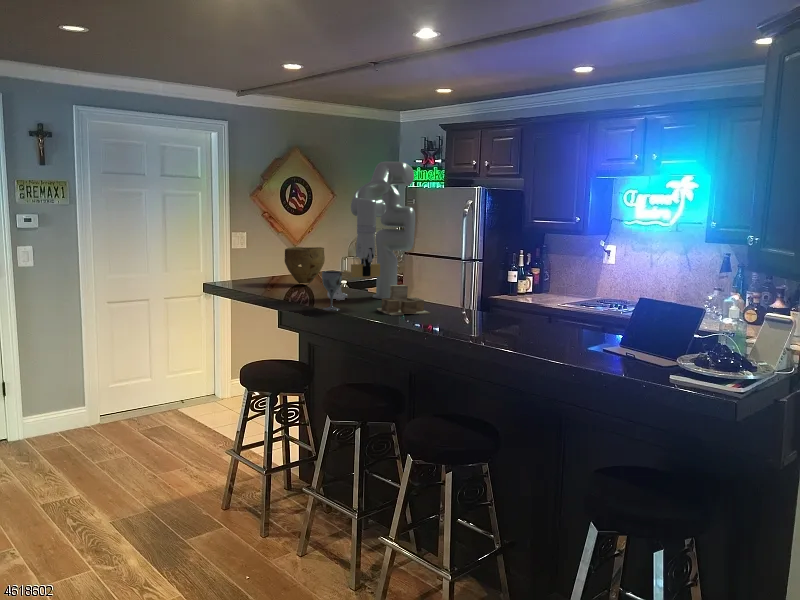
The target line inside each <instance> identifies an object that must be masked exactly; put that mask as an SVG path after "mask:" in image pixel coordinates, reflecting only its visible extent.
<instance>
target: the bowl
mask: <svg viewBox="0 0 800 600" xmlns="http://www.w3.org/2000/svg"><path fill="white" fill-rule="evenodd" d="M284 263H285V266H286V268H287V270H288V272H289V273H290V275H291V276H292V278H293V279H294V280H295V281H296V282H297V283H298V284H300V283H309V284H310V283H312V282H313V281H314V280H315V279H316V277H317V276H318V275H319V273H320V272H321V271H322V269H323V266H324V264H325V247H321V246H319V247H318V246H317V247H313V246H312V247H308V246H307V247H306V246H305V247H303V246H293V247H287V248H284Z"/></svg>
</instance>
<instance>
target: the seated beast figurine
mask: <svg viewBox="0 0 800 600" xmlns="http://www.w3.org/2000/svg"><path fill="white" fill-rule="evenodd" d="M326 297H328V299H330V294H329V292H328V291H327V296H326ZM345 298H347V299H348V294H347V293H345V292H342V286H340V287H339V288H338V289H337V290H336V292H335V293H334V295H333V299H336V300H335V301H340V300H344V301H345Z"/></svg>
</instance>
